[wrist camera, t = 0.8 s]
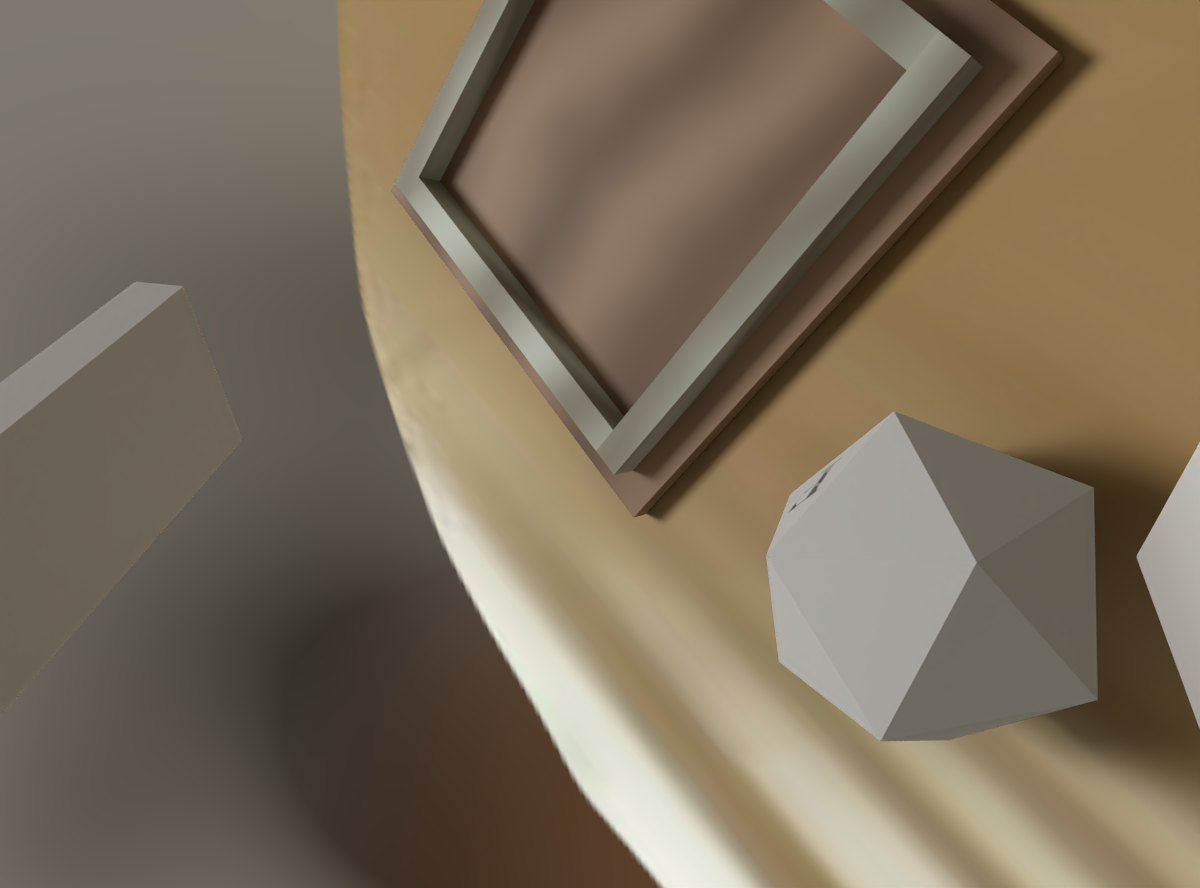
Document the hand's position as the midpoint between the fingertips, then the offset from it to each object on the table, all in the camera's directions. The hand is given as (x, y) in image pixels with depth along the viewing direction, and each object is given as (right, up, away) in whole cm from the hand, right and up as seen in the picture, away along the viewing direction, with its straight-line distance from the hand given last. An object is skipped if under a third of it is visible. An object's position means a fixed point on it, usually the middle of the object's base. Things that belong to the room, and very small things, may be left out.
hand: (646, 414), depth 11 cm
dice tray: (+1, +11, +20) cm, 23 cm away
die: (+11, -4, +15) cm, 18 cm away
